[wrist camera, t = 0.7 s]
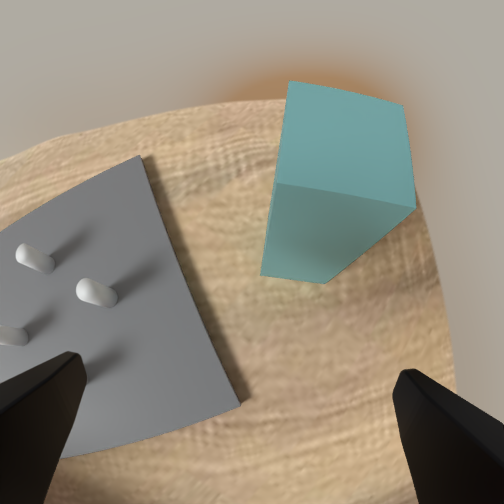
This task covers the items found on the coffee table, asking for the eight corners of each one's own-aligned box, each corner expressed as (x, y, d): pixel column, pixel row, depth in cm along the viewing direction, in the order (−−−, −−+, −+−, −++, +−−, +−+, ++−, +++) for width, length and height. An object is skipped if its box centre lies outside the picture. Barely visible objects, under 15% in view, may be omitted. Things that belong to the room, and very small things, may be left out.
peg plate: (241, 403, 19) (239, 419, 15) (29, 461, 17) (0, 473, 12) (142, 159, 24) (126, 129, 20) (-25, 255, 21) (-53, 242, 17)
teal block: (324, 284, 21) (416, 208, 9) (260, 275, 22) (277, 182, 9) (329, 223, 23) (402, 105, 10) (268, 214, 23) (289, 80, 10)
